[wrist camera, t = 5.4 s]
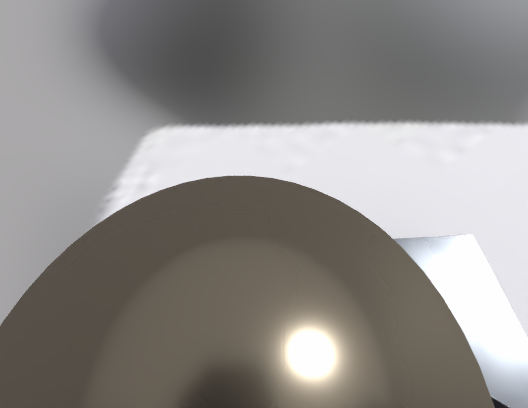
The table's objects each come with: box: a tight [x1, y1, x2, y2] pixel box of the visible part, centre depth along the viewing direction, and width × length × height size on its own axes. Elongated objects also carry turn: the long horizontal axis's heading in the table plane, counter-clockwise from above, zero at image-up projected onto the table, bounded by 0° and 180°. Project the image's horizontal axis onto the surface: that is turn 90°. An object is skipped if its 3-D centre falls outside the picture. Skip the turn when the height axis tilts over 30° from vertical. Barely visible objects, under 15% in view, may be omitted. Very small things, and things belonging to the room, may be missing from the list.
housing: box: [393, 235, 528, 408], centre depth 14 cm, size 12×20×4 cm, turn 93°
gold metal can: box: [0, 176, 495, 408], centre depth 8 cm, size 5×5×12 cm
